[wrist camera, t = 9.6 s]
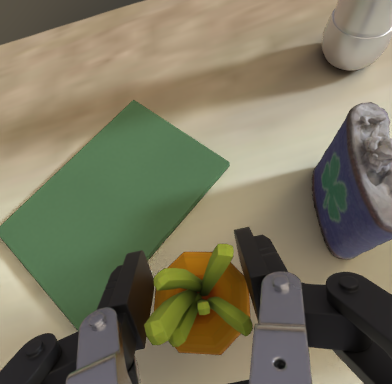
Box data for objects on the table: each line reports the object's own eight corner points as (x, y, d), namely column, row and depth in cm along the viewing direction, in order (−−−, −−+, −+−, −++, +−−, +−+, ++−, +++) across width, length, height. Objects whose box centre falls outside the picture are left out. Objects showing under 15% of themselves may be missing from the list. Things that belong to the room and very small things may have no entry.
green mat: (229, 165, 28) (229, 162, 27) (84, 333, 24) (80, 334, 23) (135, 103, 33) (133, 99, 32) (0, 233, 28) (-6, 231, 28)
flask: (360, 260, 23) (451, 221, 13) (323, 260, 23) (385, 223, 14) (338, 162, 27) (396, 76, 17) (306, 164, 27) (346, 81, 17)
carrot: (232, 264, 24) (223, 199, 10) (258, 324, 22) (290, 346, 8) (178, 286, 24) (95, 251, 10) (199, 349, 22) (129, 413, 8)
